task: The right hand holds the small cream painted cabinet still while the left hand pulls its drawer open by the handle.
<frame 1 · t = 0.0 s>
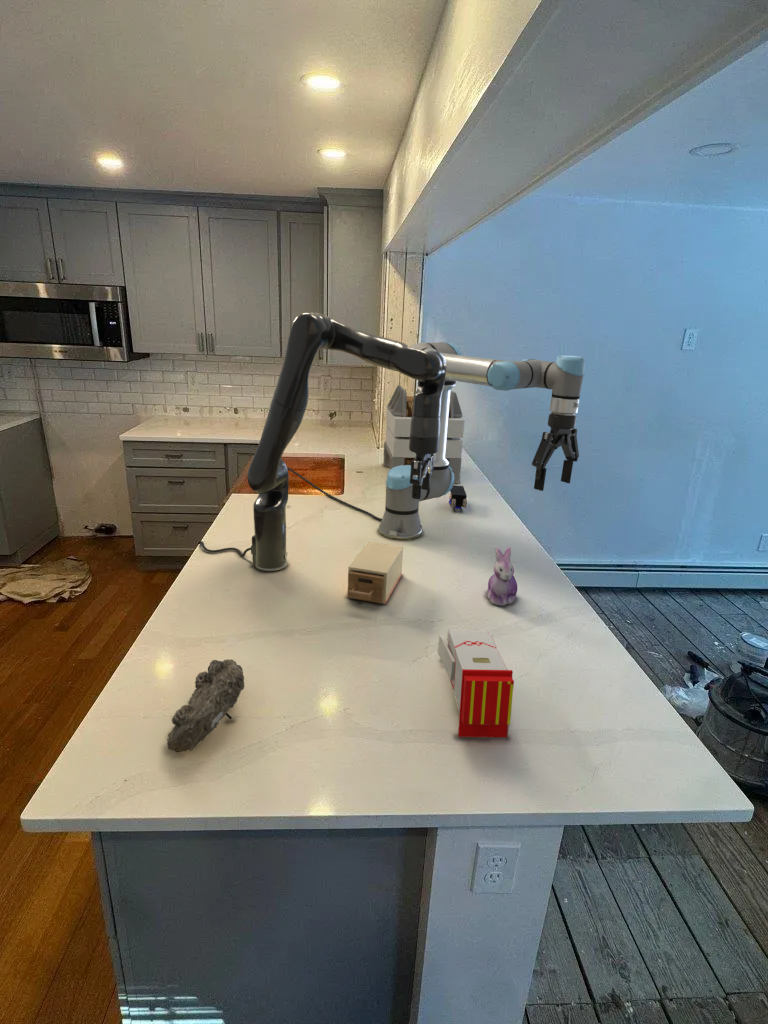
left hand: (420, 493, 149), 29 cm above the counter, tool pointing down, fingers open, 8 cm apart
right hand: (552, 485, 166), 28 cm above the counter, tool pointing down, fingers open, 13 cm apart
figurine: (501, 598, 158), on the counter
figurine character: (456, 507, 229), on the counter
grey slatted crate: (419, 473, 275), on the counter
cabinet: (375, 585, 162), on the counter
toy: (469, 691, 119), on the counter
drawer: (371, 578, 156), point 5 cm above the counter, slide at 0.5 cm
fossil: (212, 717, 108), on the counter
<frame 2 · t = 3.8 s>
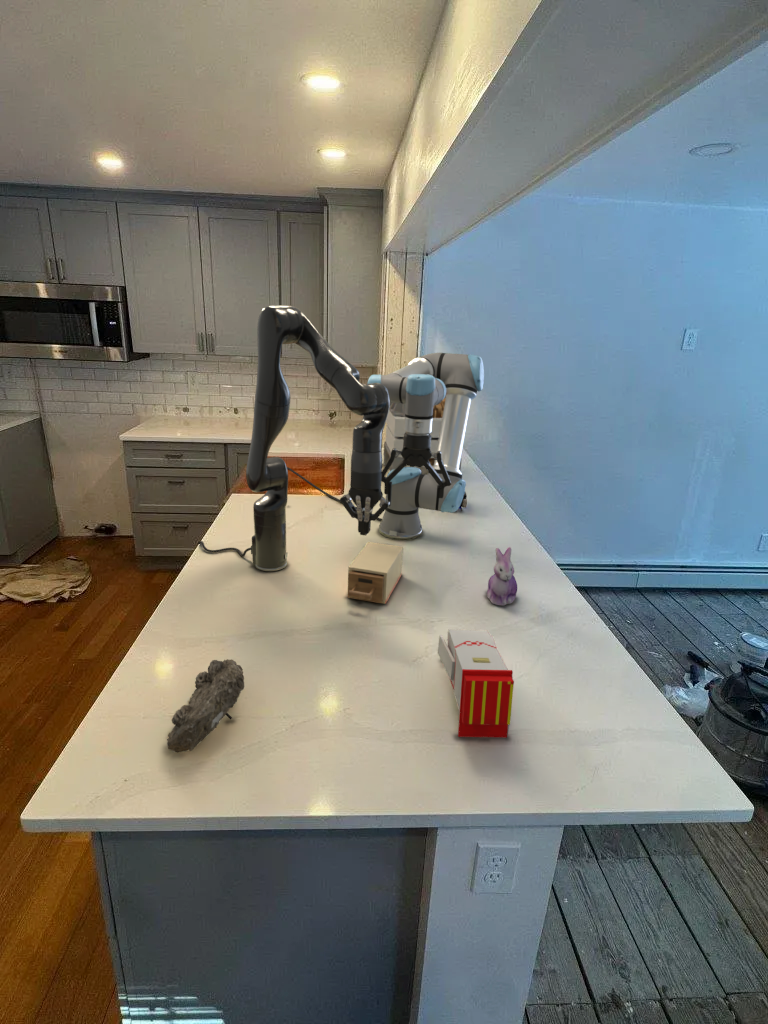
left hand: (364, 534, 143), 21 cm above the counter, tool pointing down, fingers closed
right hand: (412, 506, 161), 22 cm above the counter, tool pointing down, fingers open, 13 cm apart
nothing on the counter moved.
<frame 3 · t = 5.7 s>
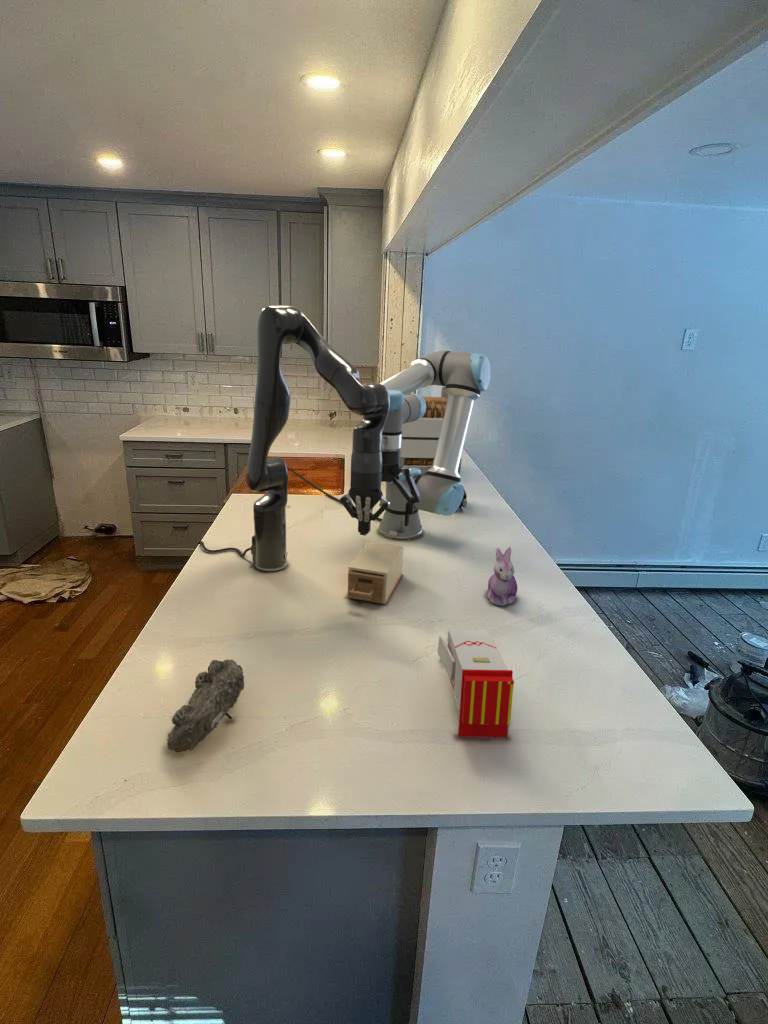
left hand: (364, 534, 143), 21 cm above the counter, tool pointing down, fingers closed
right hand: (383, 521, 161), 18 cm above the counter, tool pointing down, fingers open, 13 cm apart
nothing on the counter moved.
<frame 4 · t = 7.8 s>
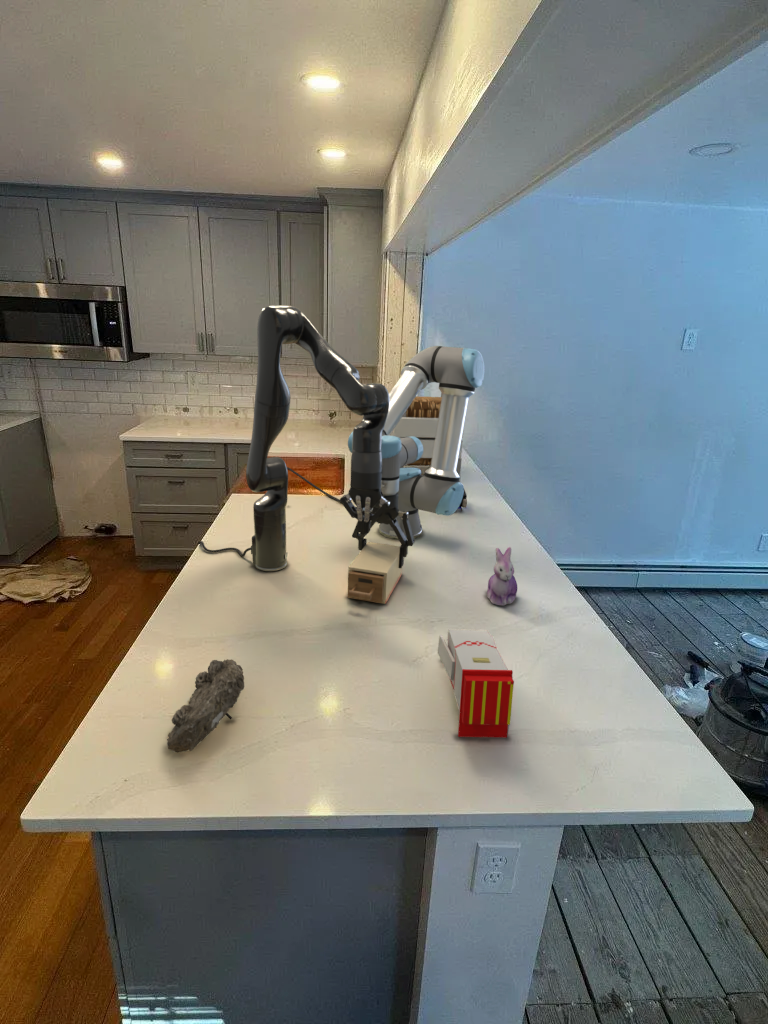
left hand: (364, 534, 143), 21 cm above the counter, tool pointing down, fingers closed
right hand: (382, 563, 166), 4 cm above the counter, tool pointing down, fingers closed on cabinet, 11 cm apart
cabinet: (375, 585, 162), on the counter, touching right hand
everything else where it was.
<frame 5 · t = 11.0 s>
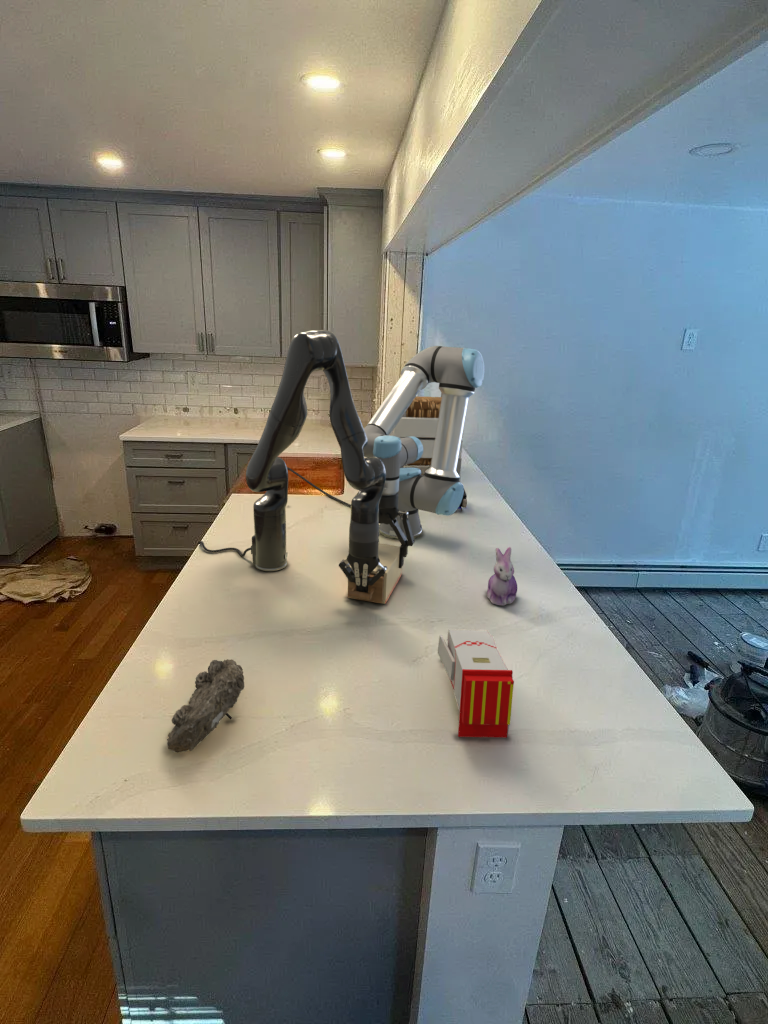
left hand: (362, 596, 148), 3 cm above the counter, tool pointing down, fingers closed
right hand: (382, 563, 166), 4 cm above the counter, tool pointing down, fingers closed on cabinet, 11 cm apart
cabinet: (375, 585, 162), on the counter, touching right hand
drawer: (371, 578, 156), point 5 cm above the counter, slide at 0.5 cm, touching left hand
everything else where it was.
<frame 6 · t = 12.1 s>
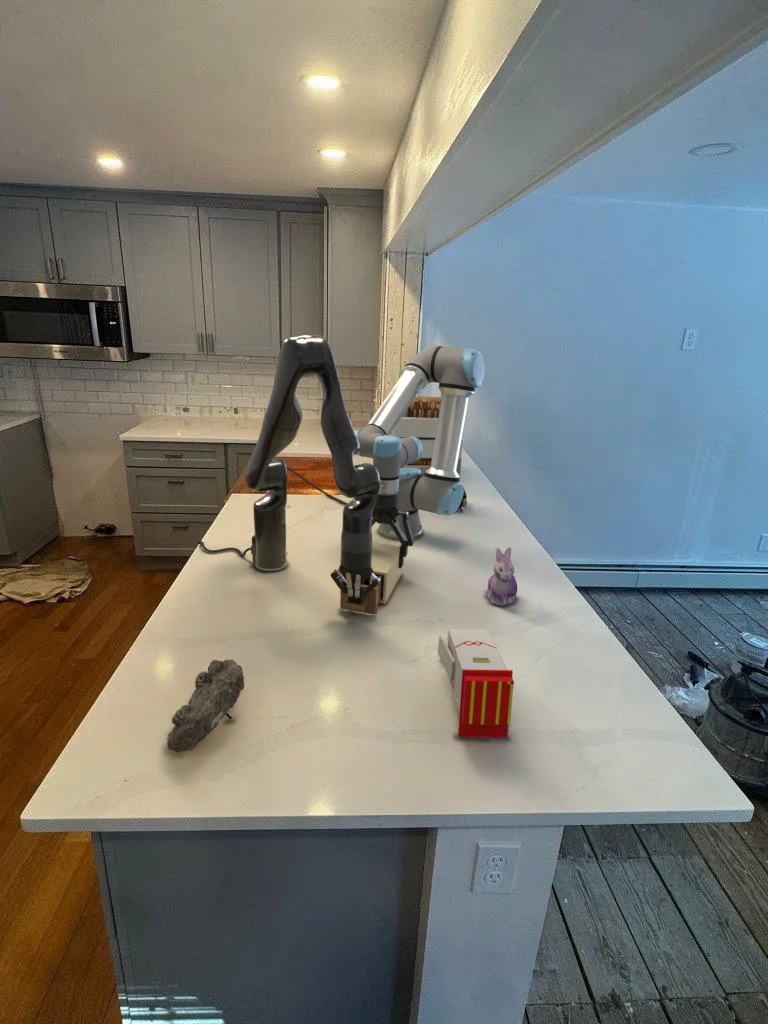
left hand: (354, 608, 143), 3 cm above the counter, tool pointing down, fingers closed
right hand: (381, 563, 166), 4 cm above the counter, tool pointing down, fingers closed on cabinet, 11 cm apart
cabinet: (375, 585, 162), on the counter, touching right hand
drawer: (364, 588, 150), point 5 cm above the counter, slide at 6.6 cm, touching left hand
everything else where it was.
when the right hand's fingers open (4 cm above the counter, at t = 14.1 s): cabinet stays where it is, on the counter.
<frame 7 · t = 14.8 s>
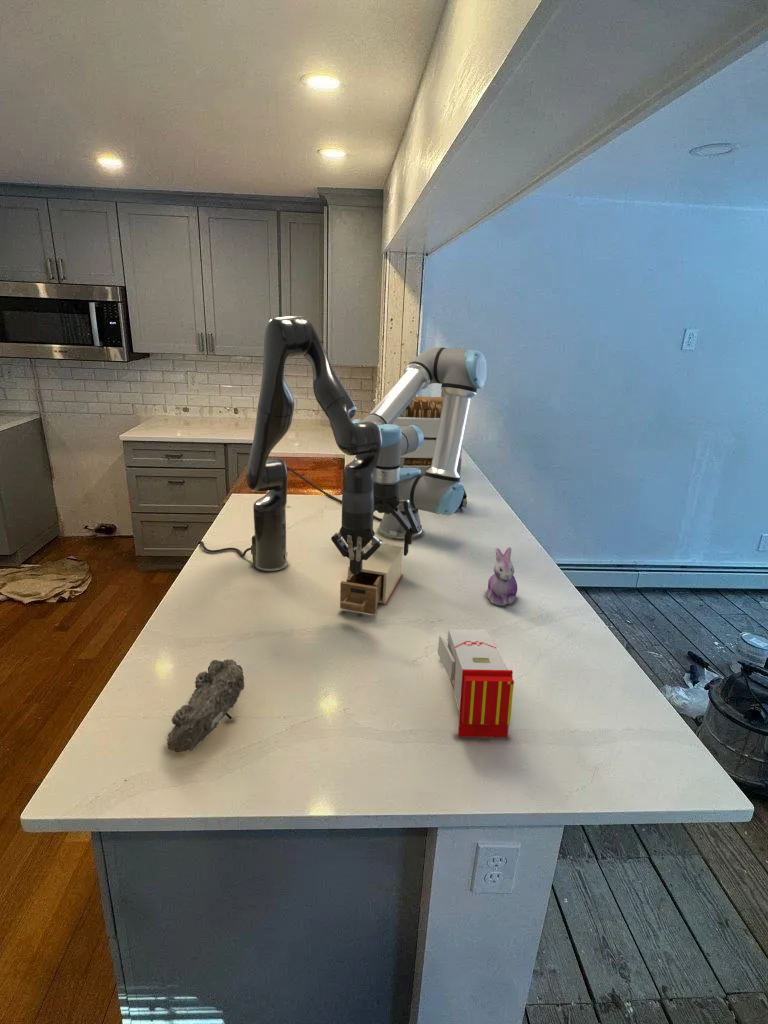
left hand: (355, 573, 140), 13 cm above the counter, tool pointing down, fingers closed
right hand: (383, 550, 165), 8 cm above the counter, tool pointing down, fingers open, 13 cm apart
cabinet: (375, 585, 162), on the counter
drawer: (364, 588, 150), point 5 cm above the counter, slide at 6.6 cm
everything else where it was.
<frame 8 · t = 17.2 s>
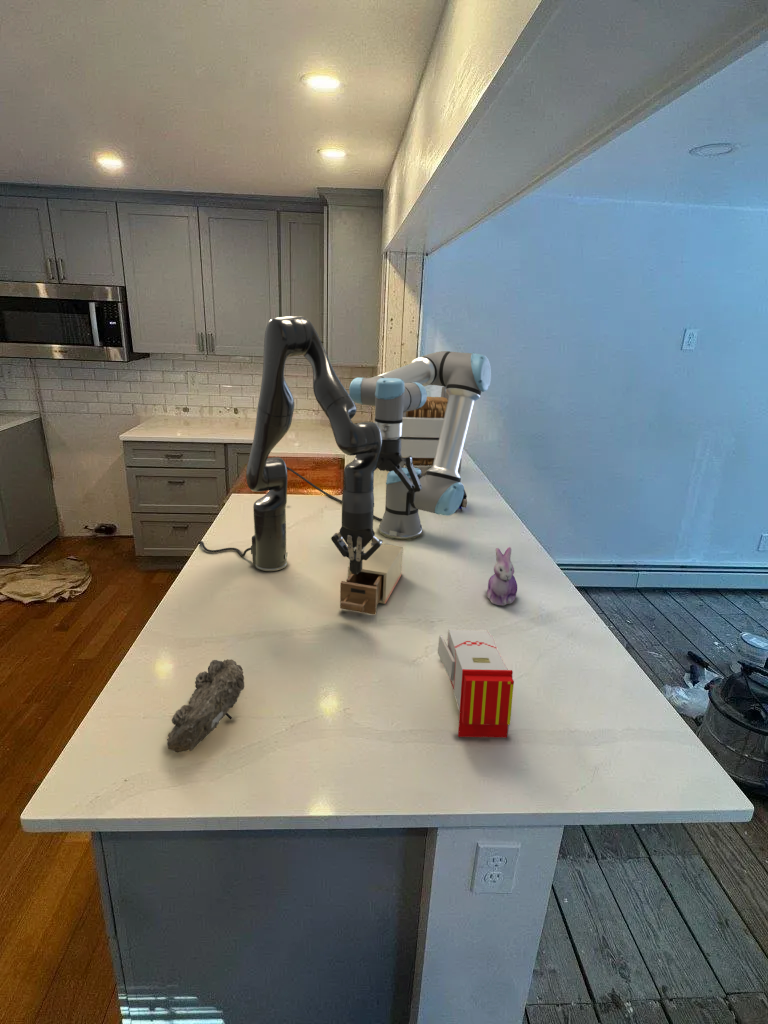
left hand: (355, 573, 140), 13 cm above the counter, tool pointing down, fingers closed
right hand: (384, 510, 161), 21 cm above the counter, tool pointing down, fingers open, 13 cm apart
nothing on the counter moved.
at the end: drawer slide at 6.6 cm; cabinet tilted 0°; cabinet never tilted more than 1° during the clip; cabinet moved 0.0 cm from its start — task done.
